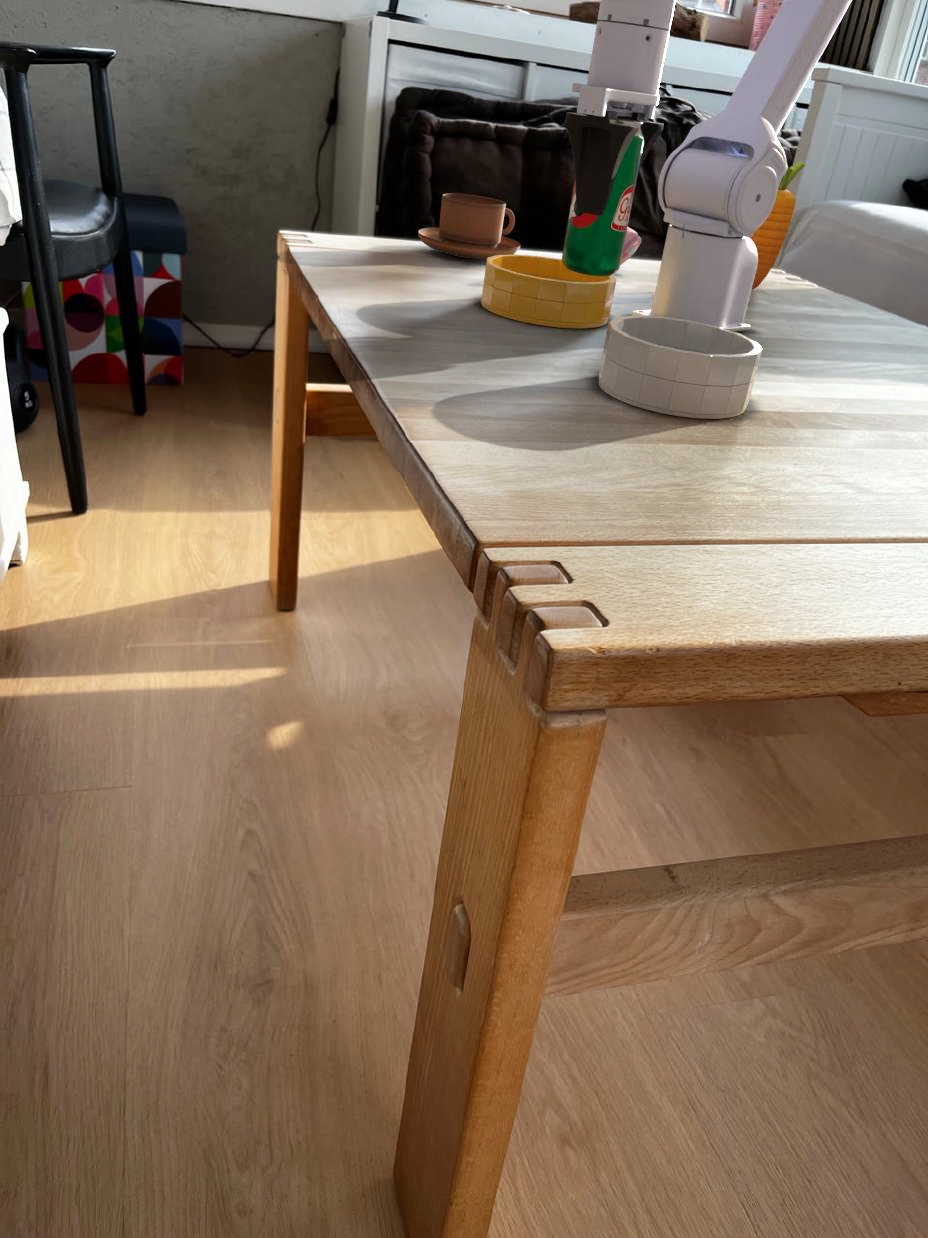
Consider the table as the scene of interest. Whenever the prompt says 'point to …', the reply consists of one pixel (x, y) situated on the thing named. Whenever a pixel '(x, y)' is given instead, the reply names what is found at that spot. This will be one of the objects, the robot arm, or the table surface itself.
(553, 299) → the bowl
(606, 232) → the soda can
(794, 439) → the table surface
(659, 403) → the pot
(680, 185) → the robot arm
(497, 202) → the cup and saucer
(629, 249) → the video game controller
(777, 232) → the carrot
